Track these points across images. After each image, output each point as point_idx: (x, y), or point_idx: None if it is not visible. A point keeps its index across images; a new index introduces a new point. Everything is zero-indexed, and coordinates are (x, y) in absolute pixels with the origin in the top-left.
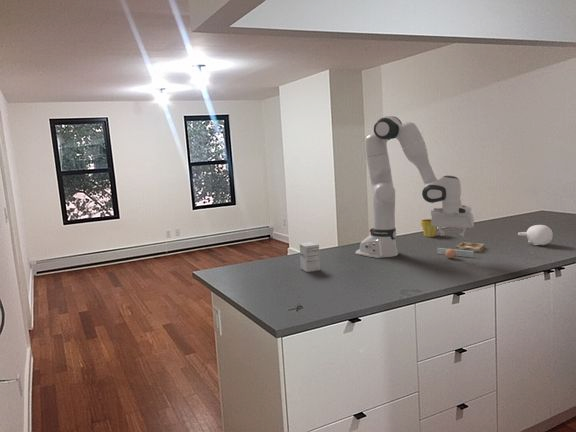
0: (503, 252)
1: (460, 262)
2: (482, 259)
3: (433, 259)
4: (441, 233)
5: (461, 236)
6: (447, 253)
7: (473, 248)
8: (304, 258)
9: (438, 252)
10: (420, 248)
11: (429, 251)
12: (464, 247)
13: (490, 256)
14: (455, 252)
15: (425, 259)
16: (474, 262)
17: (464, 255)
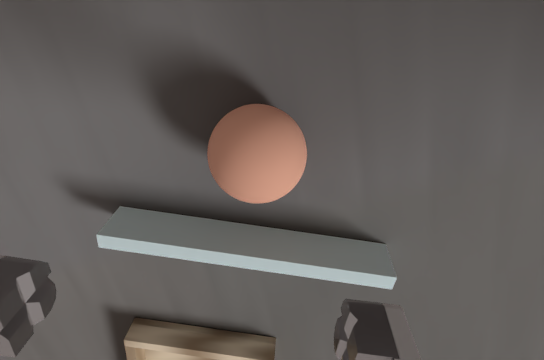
0: (29, 341)
1: (146, 19)
2: (42, 175)
3: (412, 55)
4: (398, 336)
5: (13, 257)
6: (280, 117)
7: (159, 343)
8: None
9: (378, 251)
10: (508, 344)
11: (445, 292)
12: (216, 352)
13: (40, 258)
14: (207, 154)
15: (498, 27)
16: (45, 62)
17: (177, 220)
